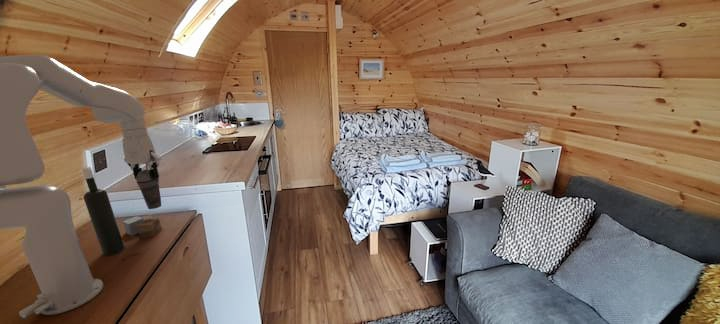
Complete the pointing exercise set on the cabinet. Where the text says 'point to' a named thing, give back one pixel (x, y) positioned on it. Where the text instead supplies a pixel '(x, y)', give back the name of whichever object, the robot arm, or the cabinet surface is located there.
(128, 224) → the light grey cube
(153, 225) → the walnut block
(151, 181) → the beverage cup
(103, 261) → the cabinet surface
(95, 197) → the wine bottle
